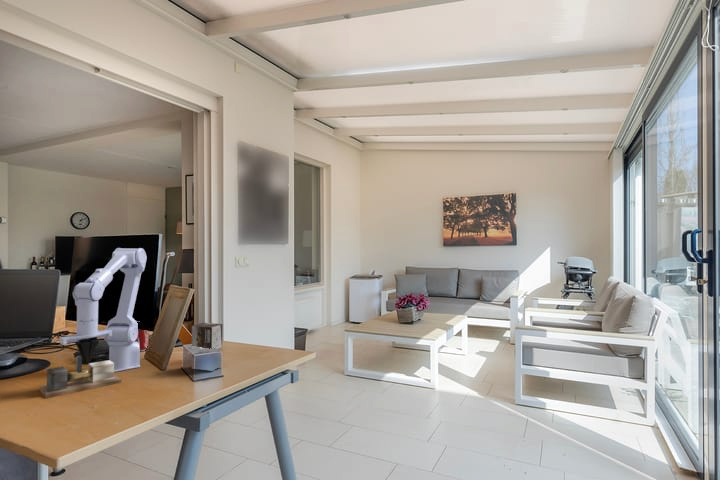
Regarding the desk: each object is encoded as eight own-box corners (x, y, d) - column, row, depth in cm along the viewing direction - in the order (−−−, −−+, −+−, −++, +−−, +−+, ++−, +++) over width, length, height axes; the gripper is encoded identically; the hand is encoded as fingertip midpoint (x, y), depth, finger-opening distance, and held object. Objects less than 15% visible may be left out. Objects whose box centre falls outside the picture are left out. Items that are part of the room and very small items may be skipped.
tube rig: (111, 375, 144) (111, 356, 144) (121, 382, 137) (121, 362, 137) (39, 389, 129) (39, 368, 129) (46, 398, 122) (46, 375, 123)
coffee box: (222, 367, 155) (223, 323, 155) (211, 372, 149) (212, 326, 149) (202, 364, 158) (203, 322, 158) (190, 369, 152) (191, 325, 152)
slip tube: (98, 374, 138) (98, 352, 138) (101, 376, 136) (101, 353, 136) (65, 381, 131) (66, 357, 131) (68, 383, 129) (68, 359, 129)
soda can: (142, 352, 175) (143, 323, 175) (131, 351, 176) (132, 322, 176) (151, 349, 180) (151, 321, 180) (140, 348, 181) (141, 320, 182)
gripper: (104, 315, 143) (103, 355, 142) (55, 322, 130) (54, 365, 130) (115, 317, 139) (114, 358, 139) (66, 324, 127) (65, 369, 126)
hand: (86, 362), depth 134 cm, fingers closed
